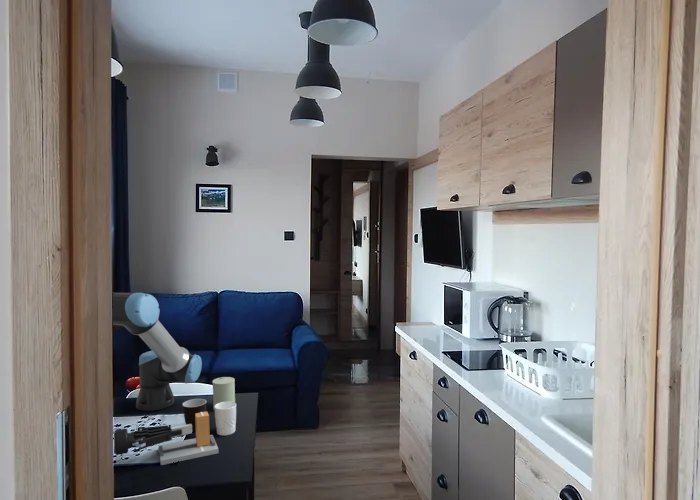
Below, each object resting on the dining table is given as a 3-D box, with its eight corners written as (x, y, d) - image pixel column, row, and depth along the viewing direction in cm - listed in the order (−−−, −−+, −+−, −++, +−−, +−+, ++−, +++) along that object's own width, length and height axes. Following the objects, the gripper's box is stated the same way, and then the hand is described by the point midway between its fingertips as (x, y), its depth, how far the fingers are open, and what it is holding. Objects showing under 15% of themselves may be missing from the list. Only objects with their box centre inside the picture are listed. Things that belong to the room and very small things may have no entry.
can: (231, 401, 206) (231, 374, 206) (238, 408, 198) (237, 380, 198) (210, 406, 202) (209, 378, 201) (216, 413, 194) (215, 384, 193)
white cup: (225, 438, 170) (224, 410, 170) (210, 433, 174) (209, 406, 174) (241, 430, 177) (240, 403, 177) (226, 425, 181) (225, 399, 181)
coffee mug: (200, 434, 173) (199, 407, 173) (178, 433, 175) (177, 406, 175) (215, 421, 185) (214, 396, 184) (195, 420, 187) (194, 395, 186)
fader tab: (196, 442, 163) (195, 412, 163) (208, 439, 165) (207, 410, 165) (197, 446, 160) (196, 417, 159) (209, 444, 162) (209, 414, 161)
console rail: (158, 449, 162) (158, 442, 162) (212, 438, 170) (212, 432, 170) (160, 465, 151) (160, 457, 151) (218, 453, 159) (218, 445, 159)
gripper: (114, 446, 157) (189, 432, 167) (114, 463, 145) (194, 447, 155) (114, 423, 156) (189, 411, 166) (113, 439, 145) (194, 424, 155)
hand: (191, 428), depth 161 cm, fingers closed
